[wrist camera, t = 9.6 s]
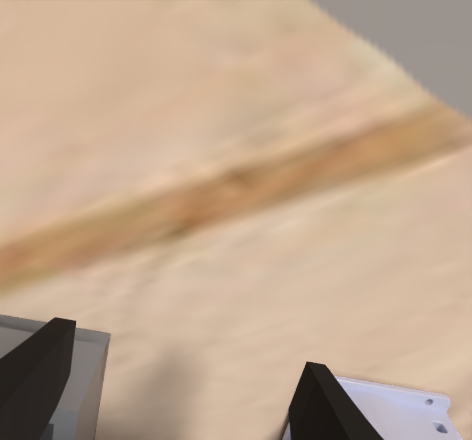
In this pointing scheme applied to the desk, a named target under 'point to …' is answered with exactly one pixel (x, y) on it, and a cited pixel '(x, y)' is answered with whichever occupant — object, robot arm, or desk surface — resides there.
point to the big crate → (78, 385)
